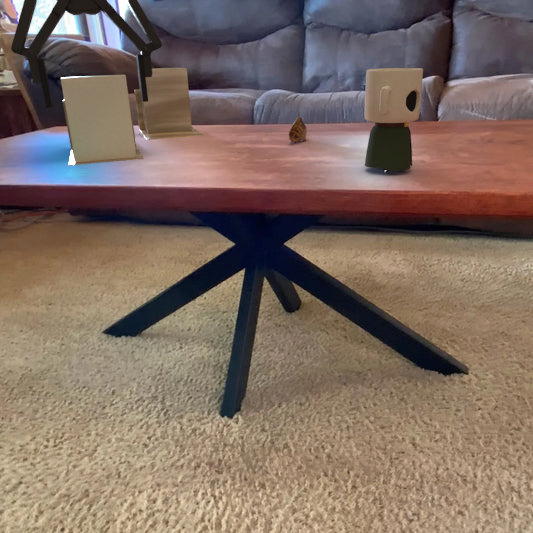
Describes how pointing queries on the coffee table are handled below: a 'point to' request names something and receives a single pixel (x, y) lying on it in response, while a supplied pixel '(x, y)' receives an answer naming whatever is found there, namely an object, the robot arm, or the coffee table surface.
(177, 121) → the cream rack
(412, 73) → the toy figurine
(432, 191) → the coffee table surface
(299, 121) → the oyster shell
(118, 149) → the cream book
